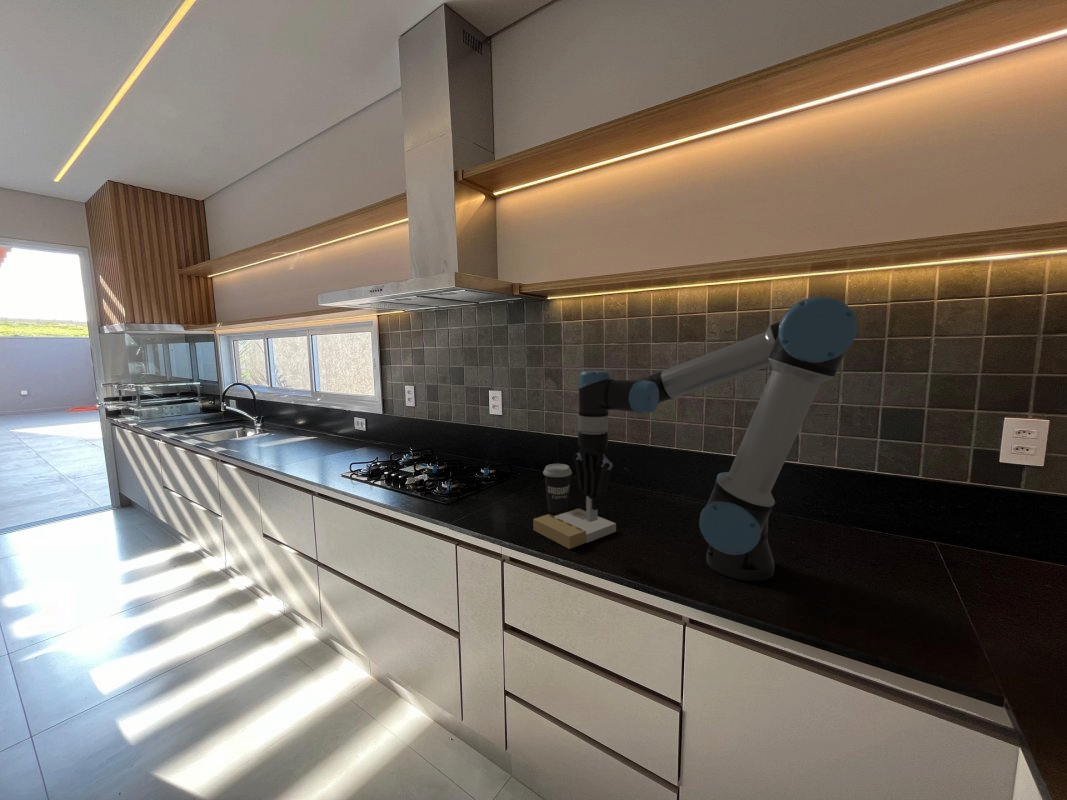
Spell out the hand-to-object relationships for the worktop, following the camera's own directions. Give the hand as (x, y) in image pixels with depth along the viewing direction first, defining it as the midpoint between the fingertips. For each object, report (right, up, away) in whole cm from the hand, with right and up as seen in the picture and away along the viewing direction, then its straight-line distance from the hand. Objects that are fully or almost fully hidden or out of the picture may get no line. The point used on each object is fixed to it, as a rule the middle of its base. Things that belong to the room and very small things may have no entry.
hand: (591, 520), depth 114 cm
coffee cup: (-7, -6, +33) cm, 34 cm away
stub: (-8, -8, +12) cm, 16 cm away
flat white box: (-1, -7, +18) cm, 19 cm away
